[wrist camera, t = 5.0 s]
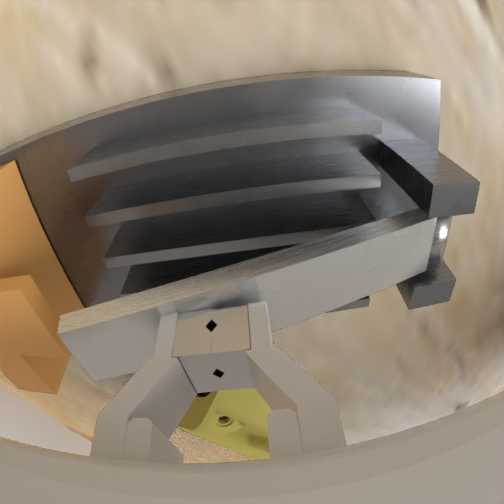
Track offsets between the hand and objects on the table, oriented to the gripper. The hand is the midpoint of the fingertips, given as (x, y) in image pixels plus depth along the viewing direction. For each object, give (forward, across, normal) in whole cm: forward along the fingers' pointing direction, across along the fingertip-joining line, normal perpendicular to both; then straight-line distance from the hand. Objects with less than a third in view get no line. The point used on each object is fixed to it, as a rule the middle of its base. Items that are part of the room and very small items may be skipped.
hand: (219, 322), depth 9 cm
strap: (+1, -2, 0) cm, 2 cm away
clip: (+6, +9, 0) cm, 11 cm away
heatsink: (+9, +2, 0) cm, 9 cm away
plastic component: (+10, +1, +25) cm, 26 cm away
